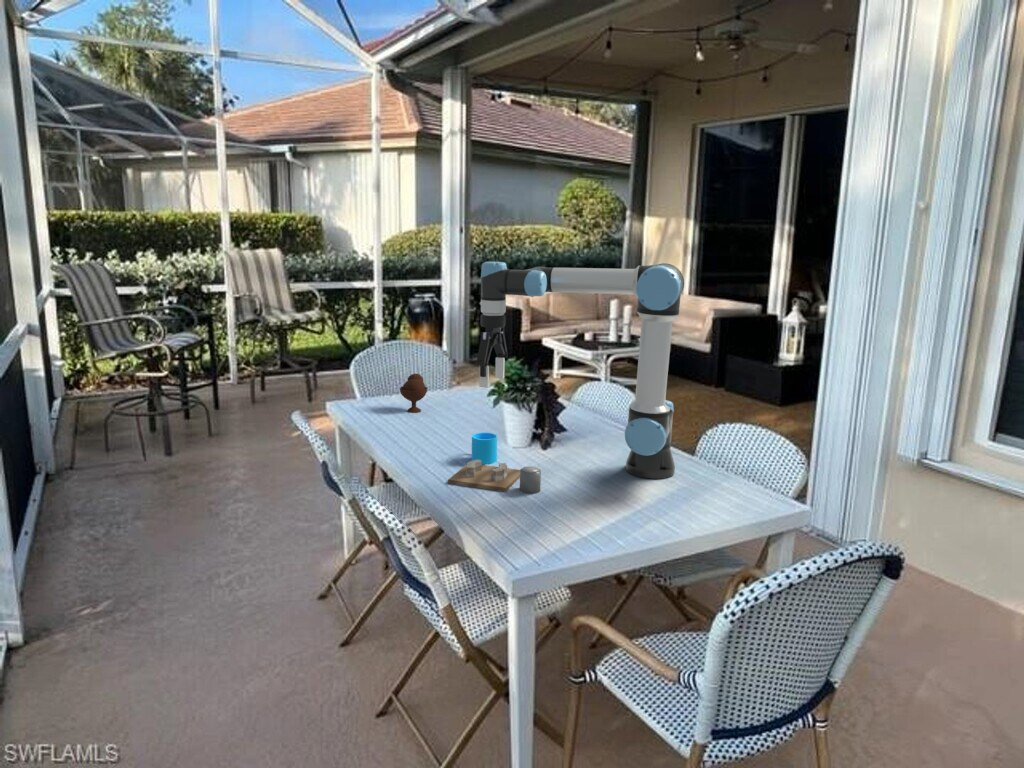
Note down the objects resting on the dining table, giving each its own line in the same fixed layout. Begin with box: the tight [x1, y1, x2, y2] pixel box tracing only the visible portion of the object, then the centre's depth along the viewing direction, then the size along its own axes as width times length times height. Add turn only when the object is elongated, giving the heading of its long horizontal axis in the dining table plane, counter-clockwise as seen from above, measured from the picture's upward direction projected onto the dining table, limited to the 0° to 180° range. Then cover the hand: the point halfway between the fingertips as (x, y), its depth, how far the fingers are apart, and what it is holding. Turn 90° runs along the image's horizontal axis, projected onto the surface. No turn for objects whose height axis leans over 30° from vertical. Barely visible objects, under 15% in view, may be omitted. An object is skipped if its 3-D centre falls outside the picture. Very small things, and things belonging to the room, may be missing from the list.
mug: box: [471, 432, 498, 465], centre depth 241 cm, size 12×8×8 cm
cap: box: [519, 466, 542, 495], centre depth 215 cm, size 6×6×6 cm
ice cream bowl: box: [399, 373, 429, 414], centre depth 295 cm, size 11×11×15 cm
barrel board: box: [447, 459, 520, 493], centre depth 223 cm, size 18×16×4 cm
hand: (492, 382), depth 229 cm, fingers open, 13 cm apart
